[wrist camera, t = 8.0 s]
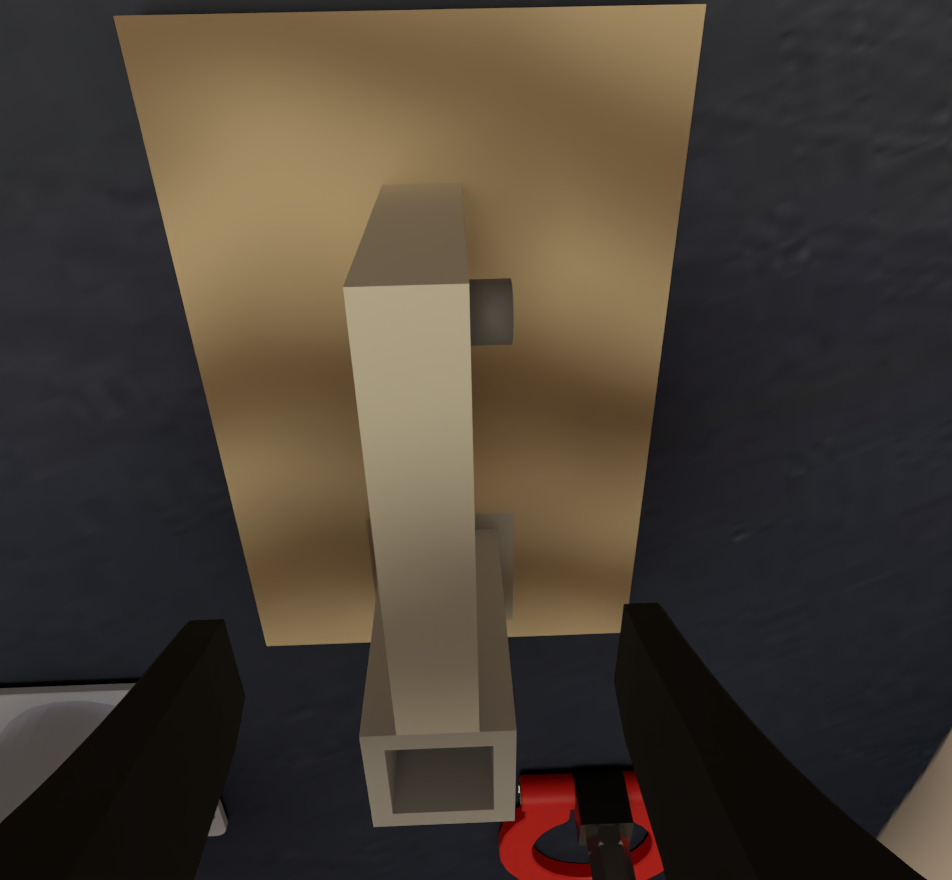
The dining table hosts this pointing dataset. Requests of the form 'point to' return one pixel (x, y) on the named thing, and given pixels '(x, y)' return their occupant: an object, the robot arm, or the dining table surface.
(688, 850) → the robot arm
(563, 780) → the tow hook
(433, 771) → the door
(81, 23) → the dining table surface
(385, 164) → the base board
